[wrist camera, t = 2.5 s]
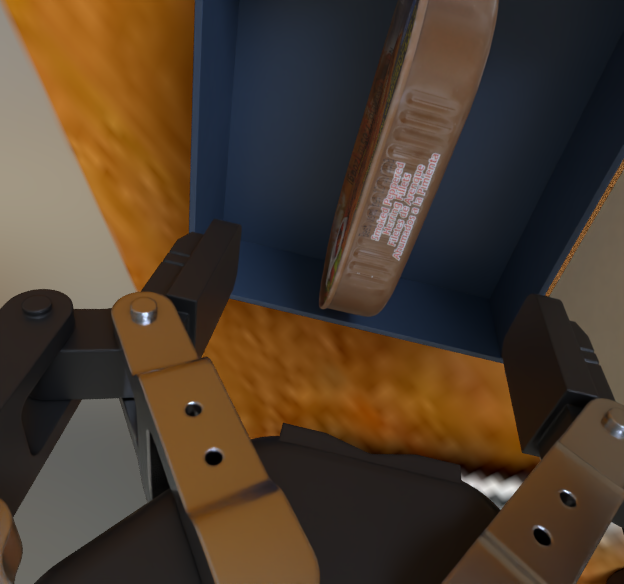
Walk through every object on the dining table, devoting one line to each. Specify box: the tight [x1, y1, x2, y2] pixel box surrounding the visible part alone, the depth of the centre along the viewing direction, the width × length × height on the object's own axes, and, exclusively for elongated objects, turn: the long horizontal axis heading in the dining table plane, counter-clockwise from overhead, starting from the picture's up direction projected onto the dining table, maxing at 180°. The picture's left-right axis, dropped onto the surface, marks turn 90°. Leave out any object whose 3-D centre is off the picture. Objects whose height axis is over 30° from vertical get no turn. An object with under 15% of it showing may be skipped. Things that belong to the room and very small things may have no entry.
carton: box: [189, 0, 624, 364], centre depth 23 cm, size 18×17×5 cm
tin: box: [319, 0, 499, 317], centre depth 21 cm, size 15×3×8 cm, turn 167°
